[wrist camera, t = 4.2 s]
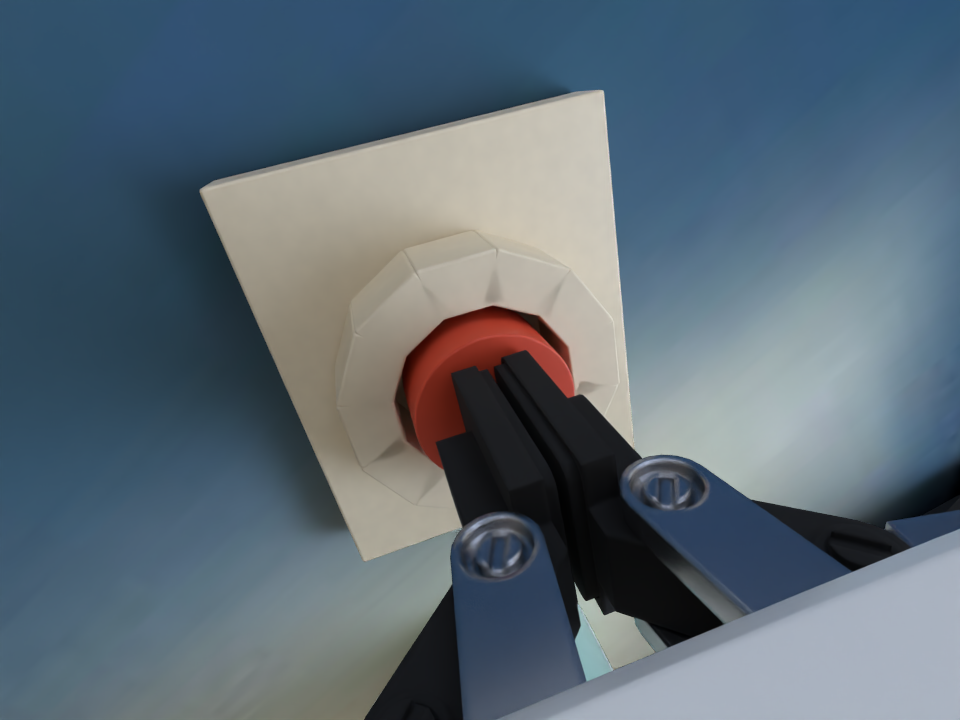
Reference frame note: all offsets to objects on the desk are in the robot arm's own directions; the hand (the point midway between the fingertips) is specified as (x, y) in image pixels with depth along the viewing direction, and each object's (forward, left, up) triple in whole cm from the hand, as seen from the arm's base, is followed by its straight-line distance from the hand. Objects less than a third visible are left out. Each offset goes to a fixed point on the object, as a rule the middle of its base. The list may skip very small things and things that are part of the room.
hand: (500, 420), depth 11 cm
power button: (0, 0, -2) cm, 2 cm away
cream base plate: (0, 0, -4) cm, 4 cm away
